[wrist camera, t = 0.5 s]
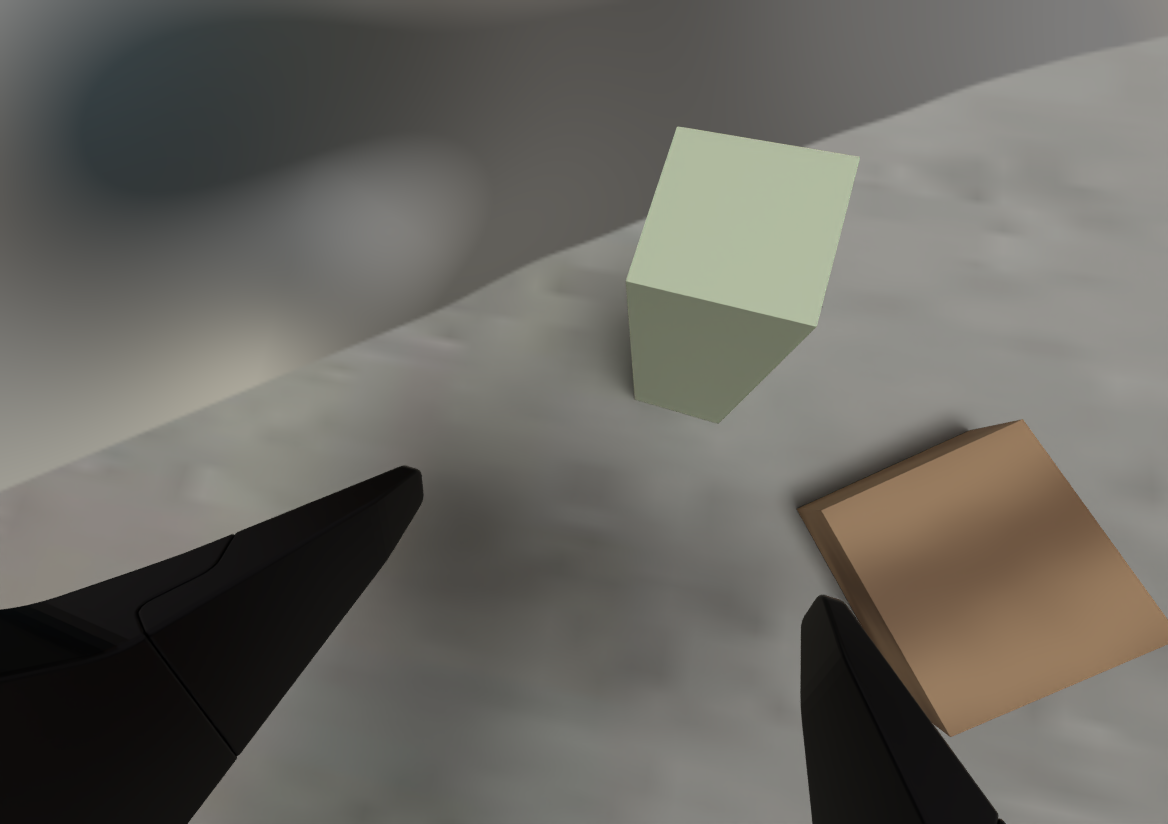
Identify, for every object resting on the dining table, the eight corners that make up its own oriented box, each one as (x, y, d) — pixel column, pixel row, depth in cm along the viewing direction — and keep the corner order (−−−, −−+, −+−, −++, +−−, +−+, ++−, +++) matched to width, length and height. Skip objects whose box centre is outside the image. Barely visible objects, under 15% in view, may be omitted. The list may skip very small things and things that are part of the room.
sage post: (718, 423, 22) (816, 326, 10) (634, 399, 23) (625, 281, 11) (741, 344, 23) (860, 156, 10) (658, 323, 24) (677, 126, 11)
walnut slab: (1097, 616, 19) (1181, 638, 16) (903, 700, 19) (950, 737, 16) (969, 430, 21) (1022, 419, 18) (796, 508, 21) (821, 510, 18)
